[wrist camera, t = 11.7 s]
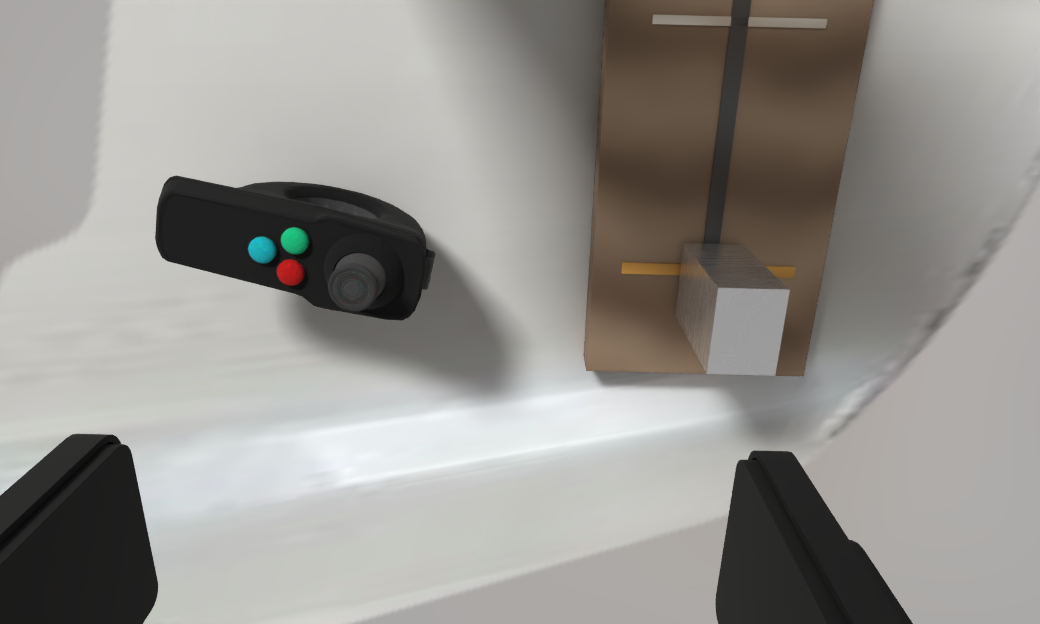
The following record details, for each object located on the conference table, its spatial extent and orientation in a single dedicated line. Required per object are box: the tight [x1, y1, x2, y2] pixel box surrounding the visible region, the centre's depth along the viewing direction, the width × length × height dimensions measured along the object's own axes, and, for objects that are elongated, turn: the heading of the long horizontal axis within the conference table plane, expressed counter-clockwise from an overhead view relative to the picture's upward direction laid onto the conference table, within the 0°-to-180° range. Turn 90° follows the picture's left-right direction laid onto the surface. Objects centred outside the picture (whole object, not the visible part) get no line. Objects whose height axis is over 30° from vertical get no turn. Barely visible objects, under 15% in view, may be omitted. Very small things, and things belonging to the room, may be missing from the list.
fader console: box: [584, 0, 874, 376], centre depth 36 cm, size 22×12×2 cm, turn 179°
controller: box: [155, 176, 435, 320], centre depth 33 cm, size 4×12×10 cm, turn 76°
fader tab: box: [675, 243, 790, 376], centre depth 34 cm, size 4×3×7 cm
